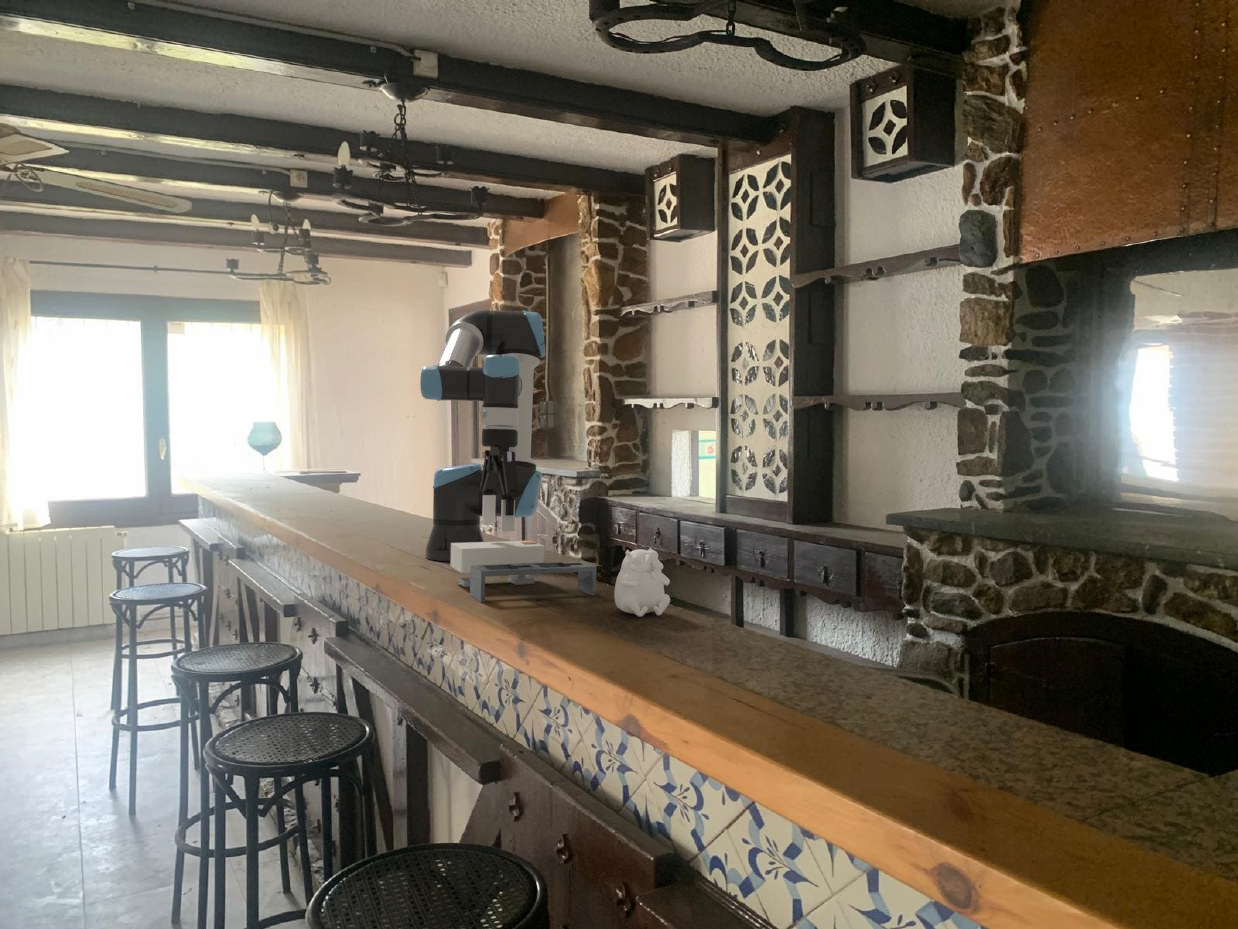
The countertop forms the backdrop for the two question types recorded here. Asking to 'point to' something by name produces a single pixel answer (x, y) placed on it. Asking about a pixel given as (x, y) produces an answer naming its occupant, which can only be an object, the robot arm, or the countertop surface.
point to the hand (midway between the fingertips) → (497, 528)
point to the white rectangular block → (495, 557)
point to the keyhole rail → (583, 568)
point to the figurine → (641, 584)
